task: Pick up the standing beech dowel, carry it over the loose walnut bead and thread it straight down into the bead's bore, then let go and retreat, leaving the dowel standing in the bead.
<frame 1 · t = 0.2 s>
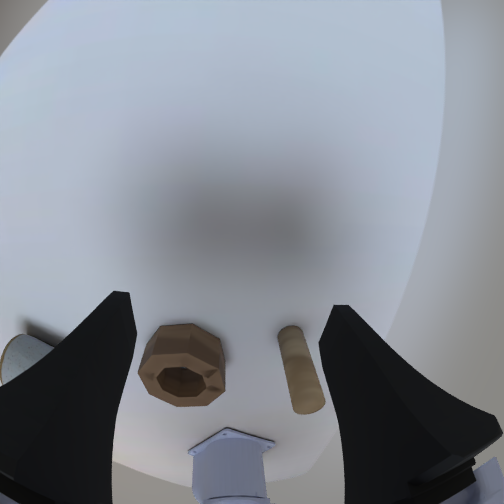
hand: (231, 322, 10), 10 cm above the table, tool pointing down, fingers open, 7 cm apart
ceramic mug: (59, 362, 24), on the table
dowel: (290, 335, 23), on the table
bead: (185, 353, 23), on the table
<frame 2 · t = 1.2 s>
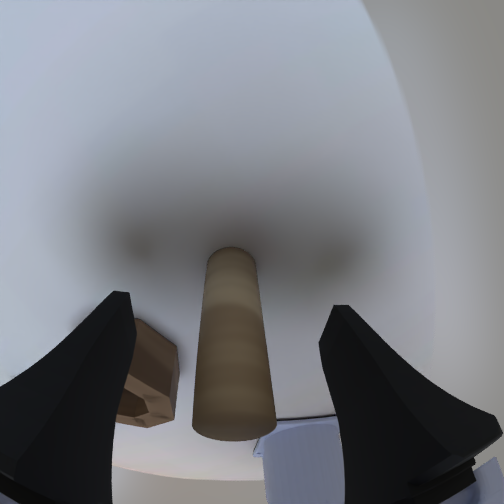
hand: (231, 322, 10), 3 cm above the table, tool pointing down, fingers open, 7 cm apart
dowel: (231, 268, 13), on the table
bead: (126, 354, 16), on the table
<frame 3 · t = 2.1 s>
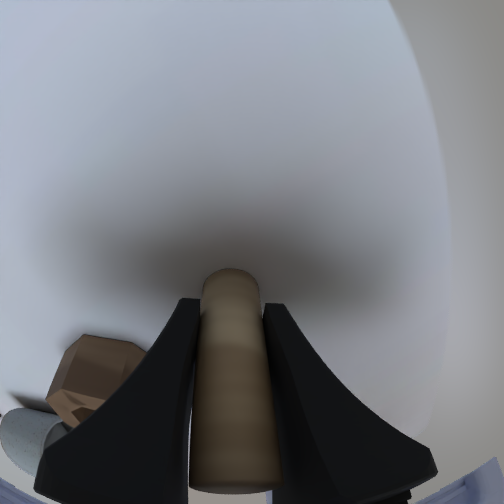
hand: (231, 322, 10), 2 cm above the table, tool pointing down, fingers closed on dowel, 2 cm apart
ceramic mug: (63, 422, 19), on the table
dowel: (230, 291, 11), on the table, touching gripper
bead: (119, 375, 14), on the table
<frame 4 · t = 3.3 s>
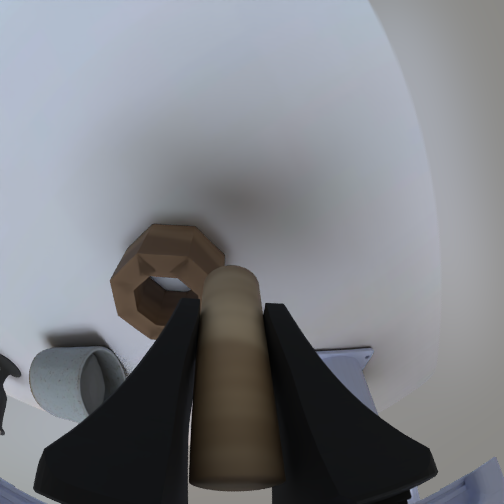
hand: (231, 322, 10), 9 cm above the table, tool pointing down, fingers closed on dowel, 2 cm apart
ceramic mug: (95, 363, 24), on the table
dowel: (231, 288, 11), point 7 cm above the table, touching gripper
bead: (175, 269, 19), on the table
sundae: (8, 364, 25), on the table
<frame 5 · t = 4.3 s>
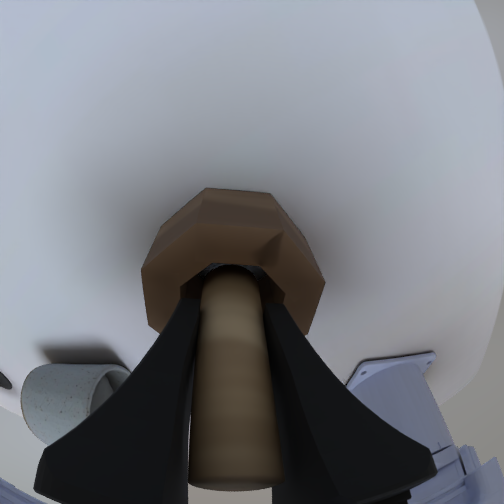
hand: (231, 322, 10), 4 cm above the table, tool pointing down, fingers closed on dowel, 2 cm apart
ceramic mug: (104, 381, 19), on the table
dowel: (230, 287, 11), point 3 cm above the table, touching gripper
bead: (231, 257, 13), on the table
when the fingers open (4 cm above the table, at t = 4.6 s): dowel drops 2 cm, resting in bead.
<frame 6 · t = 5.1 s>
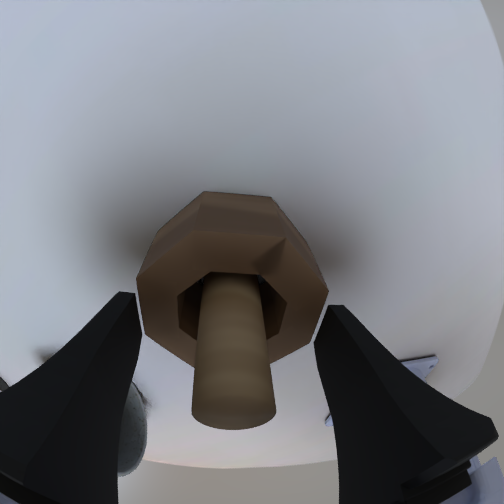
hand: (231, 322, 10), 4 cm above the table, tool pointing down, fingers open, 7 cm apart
ceramic mug: (103, 388, 19), on the table
dowel: (230, 260, 13), resting in bead
bead: (230, 263, 13), on the table
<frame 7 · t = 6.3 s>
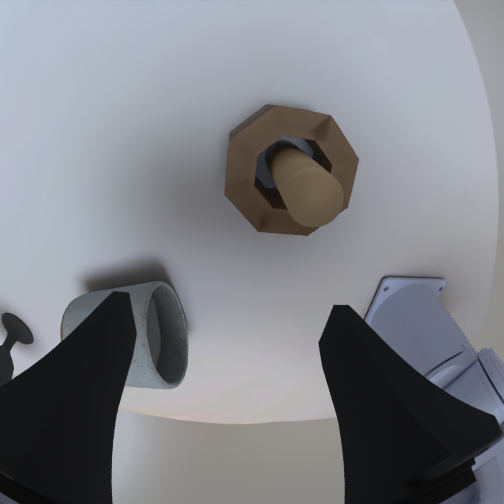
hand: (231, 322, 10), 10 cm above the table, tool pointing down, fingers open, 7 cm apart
ceramic mug: (145, 314, 23), on the table
dowel: (282, 157, 17), resting in bead
bead: (282, 159, 17), on the table
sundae: (18, 327, 23), on the table
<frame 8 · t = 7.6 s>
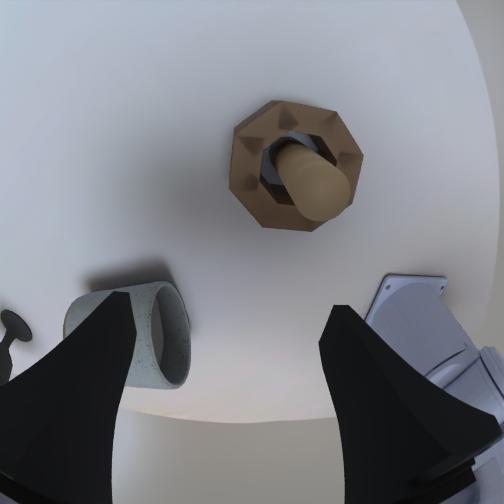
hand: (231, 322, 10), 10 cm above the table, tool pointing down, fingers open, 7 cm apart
ceramic mug: (147, 314, 23), on the table
dowel: (286, 153, 16), resting in bead
bead: (286, 156, 17), on the table
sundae: (17, 324, 23), on the table
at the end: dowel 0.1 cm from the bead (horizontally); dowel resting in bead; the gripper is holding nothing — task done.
